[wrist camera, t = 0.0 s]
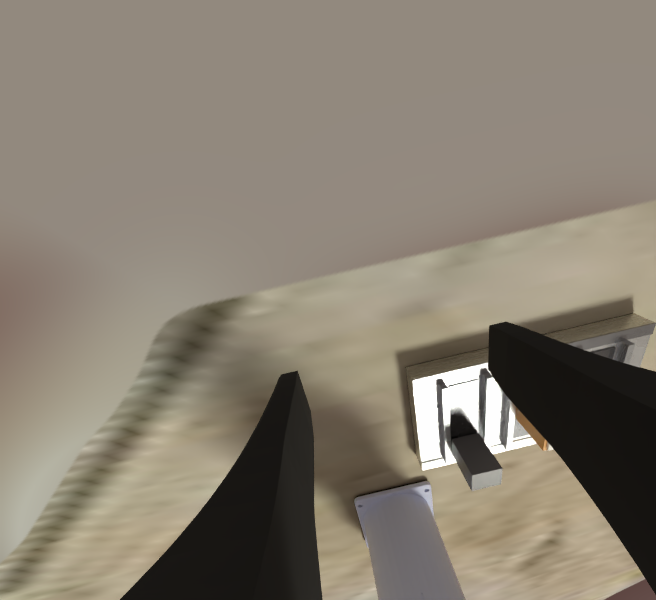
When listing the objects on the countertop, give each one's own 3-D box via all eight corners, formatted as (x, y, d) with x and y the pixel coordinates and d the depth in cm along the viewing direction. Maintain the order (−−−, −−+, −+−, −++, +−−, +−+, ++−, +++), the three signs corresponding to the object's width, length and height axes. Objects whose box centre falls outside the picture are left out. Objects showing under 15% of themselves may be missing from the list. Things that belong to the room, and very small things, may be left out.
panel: (606, 410, 29) (629, 428, 27) (416, 455, 29) (425, 476, 27) (634, 313, 24) (664, 327, 22) (405, 367, 24) (415, 385, 22)
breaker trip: (541, 410, 25) (576, 445, 22) (514, 416, 25) (545, 453, 22) (544, 392, 24) (580, 427, 21) (515, 399, 24) (548, 434, 21)
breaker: (478, 447, 27) (501, 484, 24) (452, 454, 27) (471, 491, 24) (478, 432, 26) (502, 468, 23) (451, 439, 26) (471, 475, 23)
